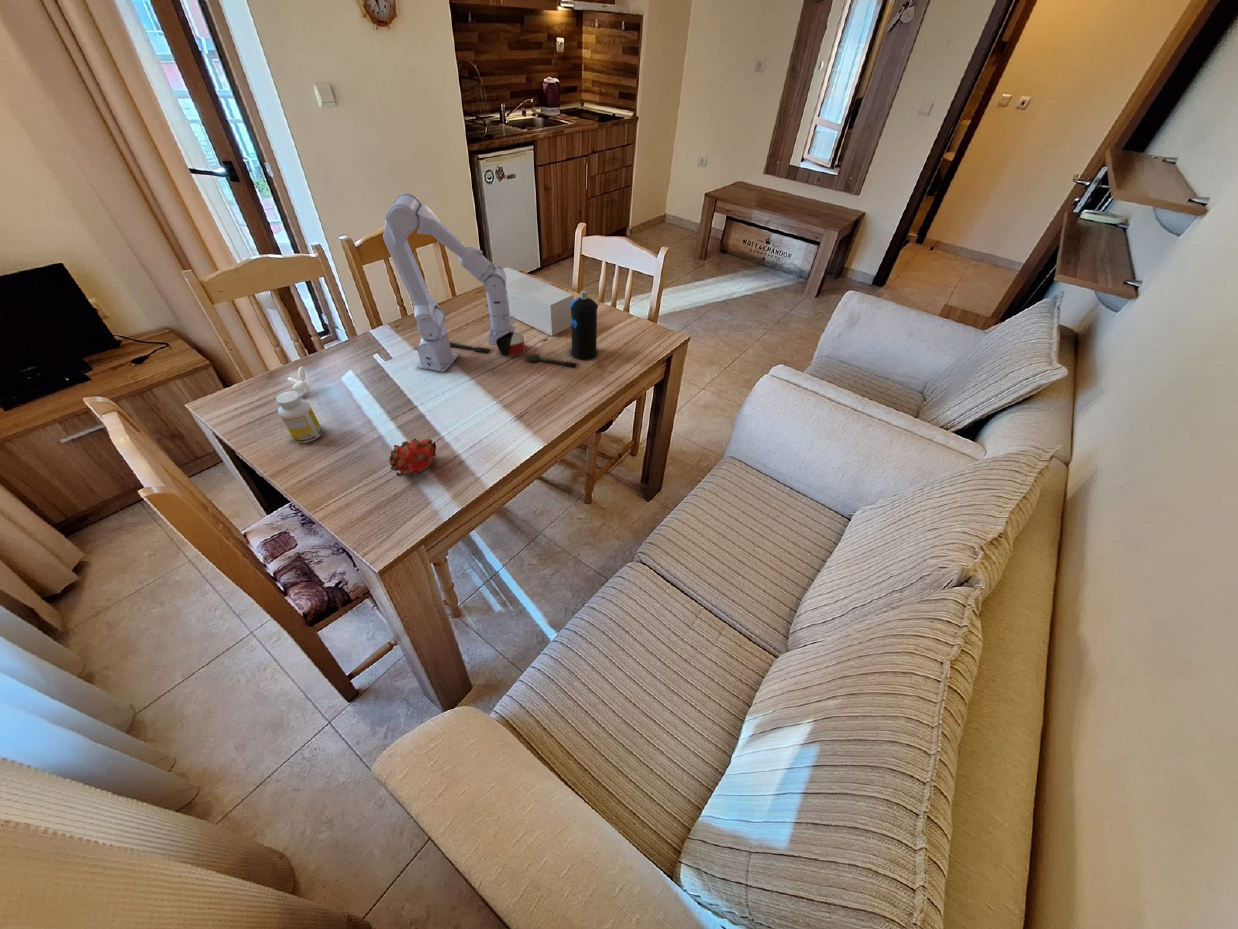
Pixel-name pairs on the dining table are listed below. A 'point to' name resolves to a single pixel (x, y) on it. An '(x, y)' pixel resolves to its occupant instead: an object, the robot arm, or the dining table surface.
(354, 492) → the dining table surface
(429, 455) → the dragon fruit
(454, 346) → the fork
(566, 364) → the spoon
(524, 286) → the long white block
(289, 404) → the pill bottle
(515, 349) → the tin can
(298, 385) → the rabbit figurine
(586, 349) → the aerosol can
